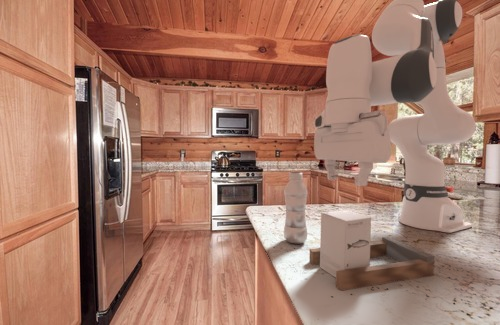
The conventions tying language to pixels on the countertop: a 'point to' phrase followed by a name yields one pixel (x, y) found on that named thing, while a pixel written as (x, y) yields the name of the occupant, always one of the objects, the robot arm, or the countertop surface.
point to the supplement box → (344, 241)
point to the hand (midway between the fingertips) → (345, 182)
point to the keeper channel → (384, 265)
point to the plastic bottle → (295, 209)
